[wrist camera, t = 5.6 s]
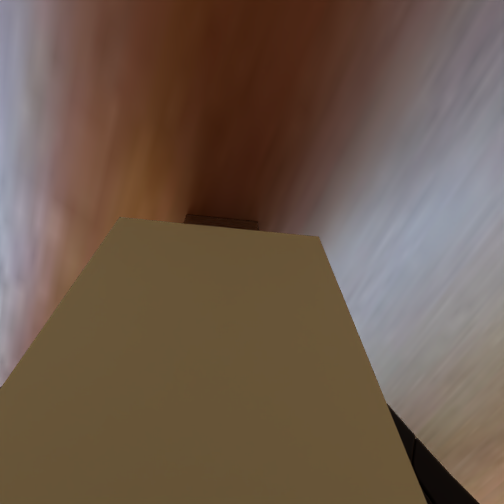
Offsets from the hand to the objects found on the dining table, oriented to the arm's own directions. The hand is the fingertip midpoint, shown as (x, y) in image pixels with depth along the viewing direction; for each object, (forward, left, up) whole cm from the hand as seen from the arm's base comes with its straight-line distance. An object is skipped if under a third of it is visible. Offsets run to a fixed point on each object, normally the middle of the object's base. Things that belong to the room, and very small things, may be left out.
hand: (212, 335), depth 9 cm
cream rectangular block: (0, 0, -1) cm, 1 cm away
